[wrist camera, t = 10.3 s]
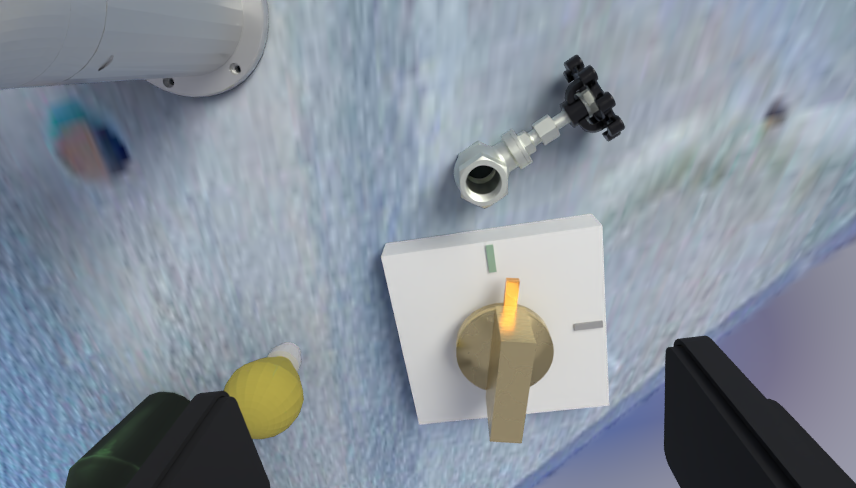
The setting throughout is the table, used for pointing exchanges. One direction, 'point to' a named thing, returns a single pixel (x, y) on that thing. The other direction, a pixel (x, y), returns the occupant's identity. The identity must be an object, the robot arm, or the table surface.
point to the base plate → (485, 284)
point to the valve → (537, 136)
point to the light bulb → (269, 391)
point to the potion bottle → (127, 444)
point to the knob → (505, 359)
